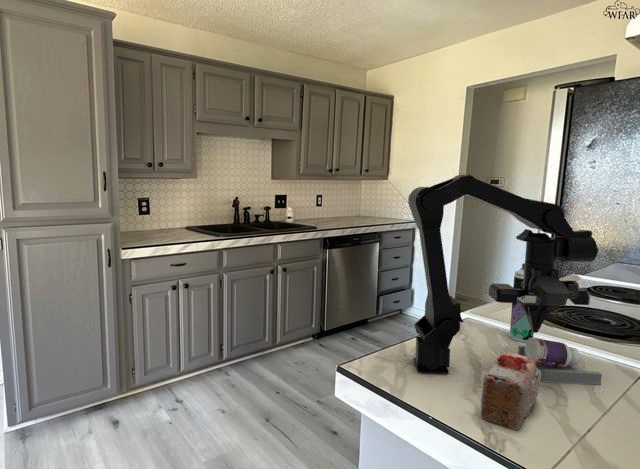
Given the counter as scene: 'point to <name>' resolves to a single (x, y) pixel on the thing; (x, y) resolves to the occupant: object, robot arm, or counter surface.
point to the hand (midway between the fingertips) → (534, 332)
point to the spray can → (519, 314)
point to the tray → (565, 373)
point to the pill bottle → (551, 353)
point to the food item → (510, 390)
